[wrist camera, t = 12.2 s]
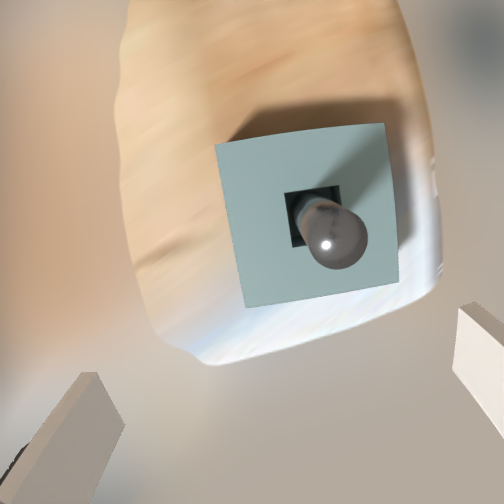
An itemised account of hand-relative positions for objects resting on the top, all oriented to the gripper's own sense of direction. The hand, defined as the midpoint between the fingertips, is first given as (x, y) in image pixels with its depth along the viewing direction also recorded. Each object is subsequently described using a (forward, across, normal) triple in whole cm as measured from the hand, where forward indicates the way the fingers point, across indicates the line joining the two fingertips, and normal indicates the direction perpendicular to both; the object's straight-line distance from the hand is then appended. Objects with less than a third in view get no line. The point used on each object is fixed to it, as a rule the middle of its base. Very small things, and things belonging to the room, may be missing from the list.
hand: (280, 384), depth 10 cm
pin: (+26, +5, +1) cm, 26 cm away
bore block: (+26, +5, +1) cm, 27 cm away
